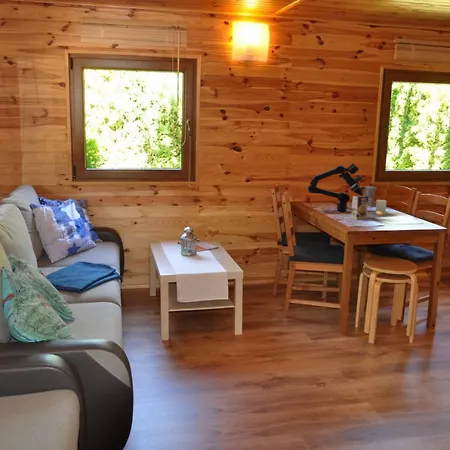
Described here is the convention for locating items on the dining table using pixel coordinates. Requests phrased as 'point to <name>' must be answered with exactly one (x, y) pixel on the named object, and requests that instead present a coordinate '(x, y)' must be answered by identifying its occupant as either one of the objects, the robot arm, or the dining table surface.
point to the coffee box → (359, 207)
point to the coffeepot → (370, 194)
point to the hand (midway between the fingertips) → (362, 194)
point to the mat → (374, 215)
